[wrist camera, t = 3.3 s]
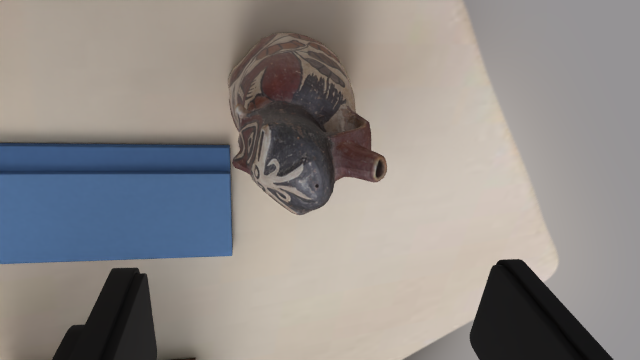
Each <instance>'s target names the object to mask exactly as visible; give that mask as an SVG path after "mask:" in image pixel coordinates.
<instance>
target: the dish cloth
mask: <svg viewBox="0 0 640 360" xmlns="http://www.w3.org/2000/svg"><path fill="white" fill-rule="evenodd" d="M214 256H232V212H231V175H230V146H229V145H159V144H48V143H0V264H14V263H42V262H71V261H99V260H128V259H157V258H185V257H214Z"/></svg>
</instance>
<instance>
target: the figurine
mask: <svg viewBox="0 0 640 360" xmlns="http://www.w3.org/2000/svg"><path fill="white" fill-rule="evenodd" d="M228 86H229V92H230V99H229V103H230V110H231V115H232V118H233V121H234V123H235V126H236V128H237V130H238V131H239V140H238V142H239V147H240V152H239V153H238V154H237V155H236V156H235V157H234V159H233V162H232V164H233V166H234V167H235V168H237V169H240V170H242V171H245V172H247V173H248V174H250V175H251V177H252V180H253V181H254V182H256V184H257V185H258V186H259V187H260V188H262V190H263V191H264V192H265V193H267V194H268V195H269V196H270V197H272V198H273V199H274V200H275V201H276V202H278V203H279V204H280V205H282V206H283V207H284V208H286V209H287V210H289V211H290V212H292V213H294V214H296V215H303V214H306V213H308V212H310V211H312V210H315V209H318V208H320V207H322V206H324V205H325V203H326V202H327V201H328V200H329V198H330V196H331V194H332V192H333V187H334V183H335V181H336V180H338V179H340V178H343V177H355V178H359V179H363V180H367V181H370V182H378V181H380V180H381V179H382V178H384V176H385V174H386V172H387V164H386V160H385V158H384V156H382V155H380V154H378V153H376V152H373V151H371V131H370V125H369V122H368V121H367V120H365V119H364V118H362V117H361V116H359V115H358V114H356V112H355V100H354V93H353V90H352V87H351V84H350V81H349V78H348V75H347V72H346V71H345V69H344V67H343V66H342V64H341V63H340V61H339V59H338V58H337V56H336V55H335V54H334V53H333V52H332V51H331V50H329V49H328V48H327V47H326V46H324V45H323V44H322V43H320V42H318V41H316V40H314V39H312V38H309V37H307V36H303V35H299V34H295V33H275V34H272V35H270V36H267V37H265V38H262V39H261V40H260V41H259V42H258V43H257V44H256V45H255V46H254V47H253V48H252V49H251V50H250V51H249V52H248V54H247V55H246V56H245V57H244V58H243V60H242V61H241V62H240V63H239V64H238V65H237V66H235V67H234V68H233V70H232V72H231V74H230V76H229V78H228Z"/></svg>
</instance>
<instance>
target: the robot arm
mask: <svg viewBox="0 0 640 360" xmlns="http://www.w3.org/2000/svg"><path fill="white" fill-rule="evenodd" d="M470 342H471V345H472V348H473V349H474V351H475V353H476V354H477V356H478V358H479V359H480V360H613V359H612V358H611V356H610V355H609V354H608V353H607V352H606V351H605V350H604V349H603V348H602V347H601V345H600V344H599V343H598V342H597V341H596V340H595V339H594V338H593V337H592V336H591V335H590V333H589V332H588V331H587V330H586V329H585V328H584V327H583V326H582V325H581V324H580V322H579V321H578V320H577V319H576V318H575V317H574V316H573V315H572V314H571V313H570V312H569V310H567V308H566V307H565V306H564V305H563V304H562V303H561V302H560V301H559V299H558V298H556V296H555V295H554V294H553V293H552V292H551V291H550V290H549V288H548V287H547V286H546V285H545V284H544V283H543V282H542V281H541V280H540V279H539V278H538V276H537V275H536V274H535V273H534V272H533V271H532V270H531V269H530V268H529V267H528V266H527V264H526V263H525V262H524V261H522V260H519V259H512V260H499V261H498V262H497V264H496V265H494V266H493V267H492V268H491V271H490V274H489V277H488V280H487V283H486V286H485V289H484V292H483V295H482V298H481V301H480V304H479V307H478V311H477V314H476V317H475V320H474V323H473V326H472V329H471V332H470ZM52 360H157V346H156V339H155V331H154V323H153V316H152V308H151V300H150V293H149V285H148V278H147V274H145V273H143V274H140V272H139V269H138V268H113V269H112V270H111V272H110V274H109V276H108V278H107V280H106V282H105V284H104V286H103V288H102V290H101V292H100V295H99V297H98V299H97V301H96V303H95V305H94V307H93V309H92V311H91V313H90V315H89V318H88V320H87V322H86V324H85V325H73V326H71V327H70V328H69V329H68V331H67V332H66V334H65V336H64V338H63V340H62V342H61V344H60V345H59V347H58V349H57V351H56V353H55V355H54V357H53V359H52Z"/></svg>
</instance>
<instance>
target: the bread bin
mask: <svg viewBox="0 0 640 360" xmlns="http://www.w3.org/2000/svg"><path fill="white" fill-rule="evenodd" d="M173 360H196V359H195V358H186V359H173Z"/></svg>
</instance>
